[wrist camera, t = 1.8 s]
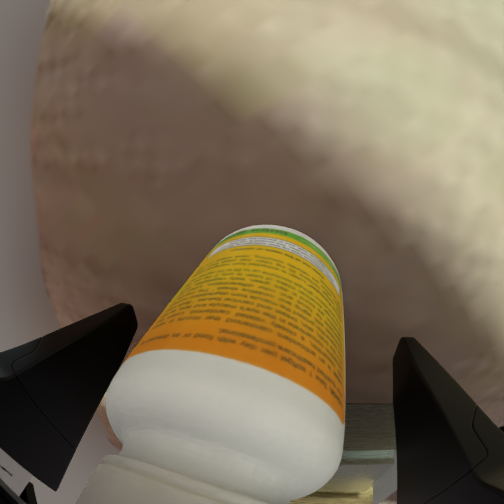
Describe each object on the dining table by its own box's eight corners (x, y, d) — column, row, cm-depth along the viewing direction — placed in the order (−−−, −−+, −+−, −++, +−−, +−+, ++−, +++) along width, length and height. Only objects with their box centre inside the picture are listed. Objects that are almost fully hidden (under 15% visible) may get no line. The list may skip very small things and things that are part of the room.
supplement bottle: (192, 225, 11) (-13, 437, 2) (340, 216, 9) (347, 589, 1) (220, 336, 13) (125, 531, 4) (339, 339, 12) (318, 577, 3)
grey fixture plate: (438, 401, 12) (452, 475, 8) (358, 494, 20) (354, 534, 15) (197, 383, 15) (163, 454, 11) (225, 481, 23) (211, 519, 18)
